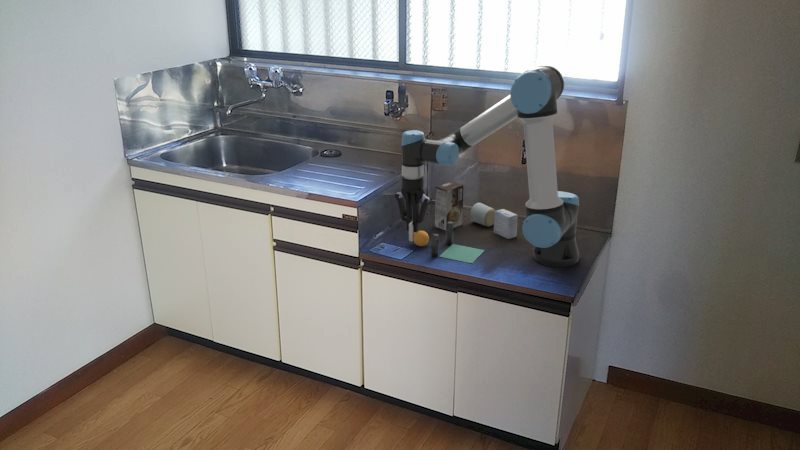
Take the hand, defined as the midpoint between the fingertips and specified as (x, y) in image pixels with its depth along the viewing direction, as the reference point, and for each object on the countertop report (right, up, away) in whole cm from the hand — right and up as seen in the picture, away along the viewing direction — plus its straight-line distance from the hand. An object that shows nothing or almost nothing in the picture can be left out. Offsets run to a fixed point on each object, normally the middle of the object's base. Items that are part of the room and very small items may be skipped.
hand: (412, 239), depth 241 cm
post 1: (+7, -5, -9) cm, 13 cm away
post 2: (+13, -1, +1) cm, 13 cm away
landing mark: (+17, -5, -7) cm, 19 cm away
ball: (+3, +1, -2) cm, 4 cm away
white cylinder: (+28, +6, +20) cm, 35 cm away
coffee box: (+14, +5, +17) cm, 23 cm away
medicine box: (+34, +1, +9) cm, 35 cm away
